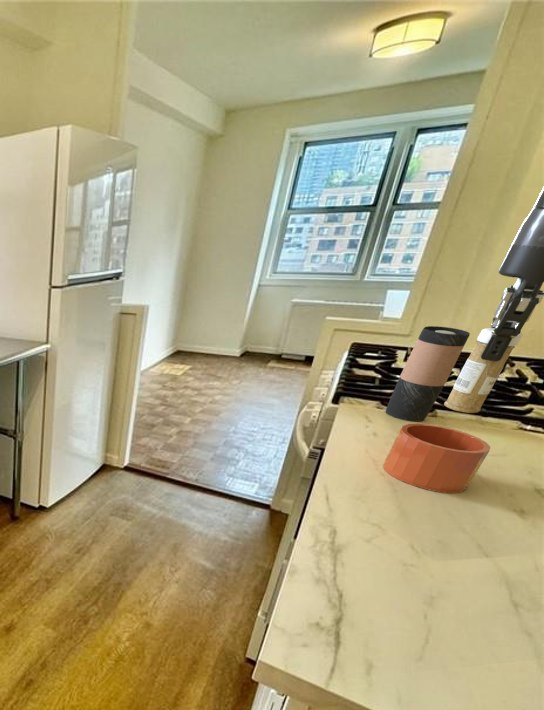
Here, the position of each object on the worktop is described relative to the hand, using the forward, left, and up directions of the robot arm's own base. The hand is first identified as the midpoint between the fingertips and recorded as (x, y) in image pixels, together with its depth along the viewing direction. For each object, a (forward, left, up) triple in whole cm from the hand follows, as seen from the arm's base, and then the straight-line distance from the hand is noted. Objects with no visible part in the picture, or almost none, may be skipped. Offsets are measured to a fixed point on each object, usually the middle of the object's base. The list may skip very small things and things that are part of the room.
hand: (489, 355), depth 78 cm
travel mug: (-22, -25, -23) cm, 40 cm away
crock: (0, 0, -23) cm, 23 cm away
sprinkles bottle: (0, 0, -10) cm, 10 cm away
